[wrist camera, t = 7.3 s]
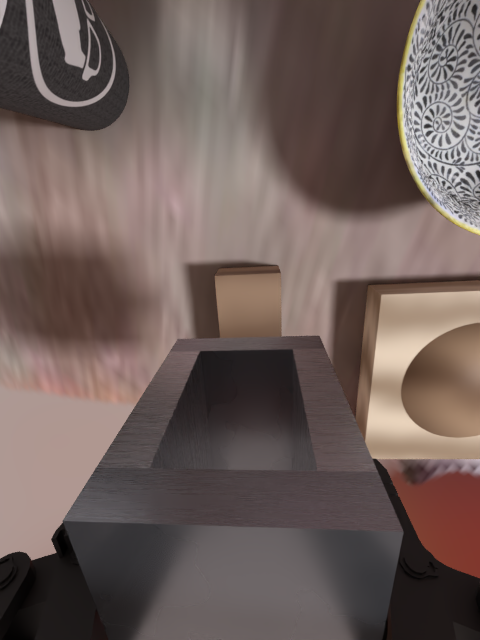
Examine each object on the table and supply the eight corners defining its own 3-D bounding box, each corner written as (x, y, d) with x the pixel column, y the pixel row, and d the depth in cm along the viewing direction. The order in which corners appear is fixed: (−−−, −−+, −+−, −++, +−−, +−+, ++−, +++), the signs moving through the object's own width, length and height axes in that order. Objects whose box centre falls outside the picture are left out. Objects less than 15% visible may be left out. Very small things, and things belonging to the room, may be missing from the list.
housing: (177, 338, 13) (62, 520, 6) (319, 335, 12) (403, 531, 5) (200, 491, 16) (145, 736, 9) (313, 493, 16) (358, 757, 8)
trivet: (367, 284, 25) (381, 294, 22) (572, 276, 24) (614, 285, 21) (353, 436, 31) (363, 459, 28) (518, 435, 30) (546, 459, 27)
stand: (219, 268, 26) (214, 276, 23) (278, 265, 25) (280, 273, 22) (227, 371, 29) (224, 388, 26) (279, 369, 29) (282, 387, 26)
